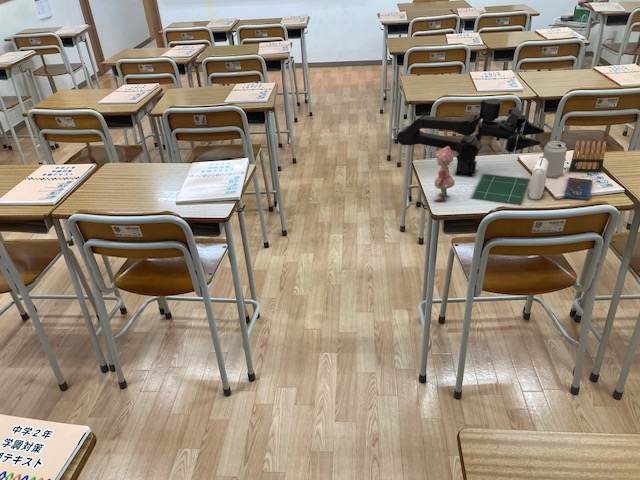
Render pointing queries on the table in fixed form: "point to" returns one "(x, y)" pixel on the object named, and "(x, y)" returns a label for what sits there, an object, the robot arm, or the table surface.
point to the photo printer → (538, 178)
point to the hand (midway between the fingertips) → (542, 137)
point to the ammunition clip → (588, 158)
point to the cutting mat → (501, 189)
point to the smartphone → (578, 188)
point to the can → (555, 157)
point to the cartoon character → (444, 171)
